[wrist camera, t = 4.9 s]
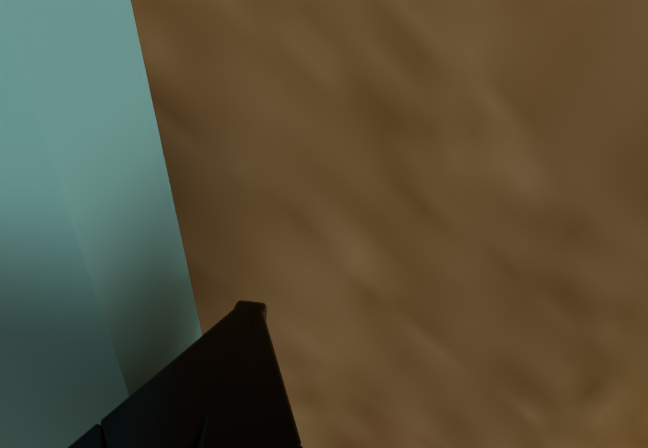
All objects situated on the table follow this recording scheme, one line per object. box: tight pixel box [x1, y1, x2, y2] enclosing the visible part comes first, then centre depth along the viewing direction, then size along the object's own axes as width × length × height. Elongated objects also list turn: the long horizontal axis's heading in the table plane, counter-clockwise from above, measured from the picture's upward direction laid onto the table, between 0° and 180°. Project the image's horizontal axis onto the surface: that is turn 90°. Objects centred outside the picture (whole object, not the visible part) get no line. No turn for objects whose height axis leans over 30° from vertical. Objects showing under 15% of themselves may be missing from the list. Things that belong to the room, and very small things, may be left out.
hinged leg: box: [0, 0, 202, 448], centre depth 6 cm, size 14×2×3 cm, turn 3°
